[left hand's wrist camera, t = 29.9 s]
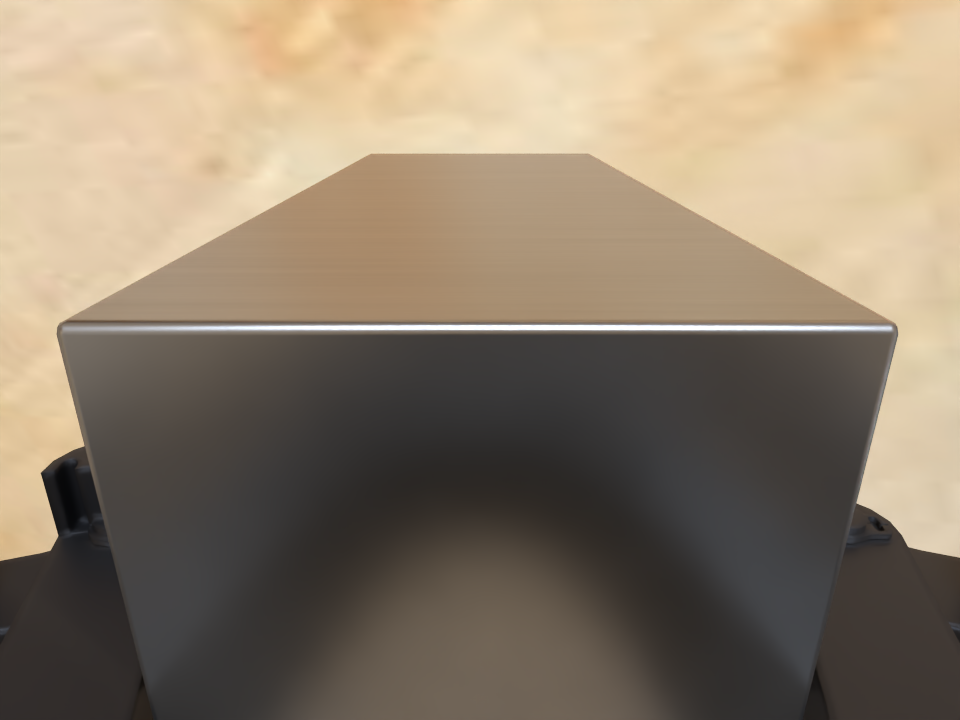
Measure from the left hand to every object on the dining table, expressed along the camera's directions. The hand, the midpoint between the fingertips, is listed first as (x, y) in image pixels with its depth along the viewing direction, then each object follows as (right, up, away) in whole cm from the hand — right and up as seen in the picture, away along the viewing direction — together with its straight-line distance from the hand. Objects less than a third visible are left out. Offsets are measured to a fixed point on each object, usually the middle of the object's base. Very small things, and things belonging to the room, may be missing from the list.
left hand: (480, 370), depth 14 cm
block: (0, +1, +2) cm, 2 cm away
